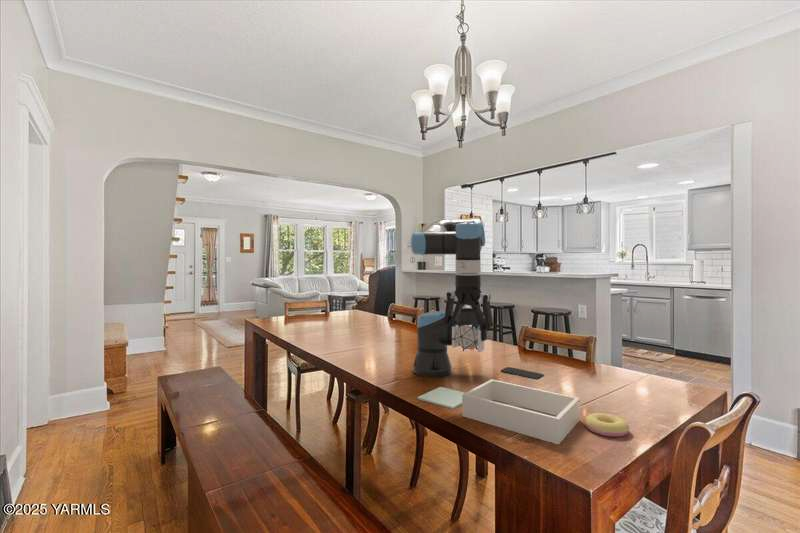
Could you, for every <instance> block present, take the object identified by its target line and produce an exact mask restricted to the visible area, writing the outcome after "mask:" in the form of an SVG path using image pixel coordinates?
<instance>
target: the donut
mask: <svg viewBox="0 0 800 533" xmlns="http://www.w3.org/2000/svg"><path fill="white" fill-rule="evenodd" d="M584 424H585V427H586V428H587V429H588V430H590V431H591V432H593V433H595V434H597V435H600V436H604V437H610V438H612V437H613V438H618V437H619V438H620V437H623V436H626V435H627V434H628V433H629V432H630V425H629V423H628V422H627V421H626V420H625V419H624V418H622V417H620V416H617V415H614V414H610V413H604V412H594V413H589V414H588V415H587V416H586V417H585V419H584Z"/></svg>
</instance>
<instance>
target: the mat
mask: <svg viewBox="0 0 800 533" xmlns="http://www.w3.org/2000/svg"><path fill="white" fill-rule="evenodd" d="M464 393H465V392H463V391H458V390H454V389H451V388H447V387H443V386H439V387H436V388H434V389H433V390H431V391H427V392H426V393H423V394H422V395H419V396H417V400H419V401H423V402H427V403H430V404H433V405H437V406H440V407H444V408H446V409H451V410H455V409H457V408H458V407H460V406H461V405H462V395H463V394H464Z"/></svg>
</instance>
